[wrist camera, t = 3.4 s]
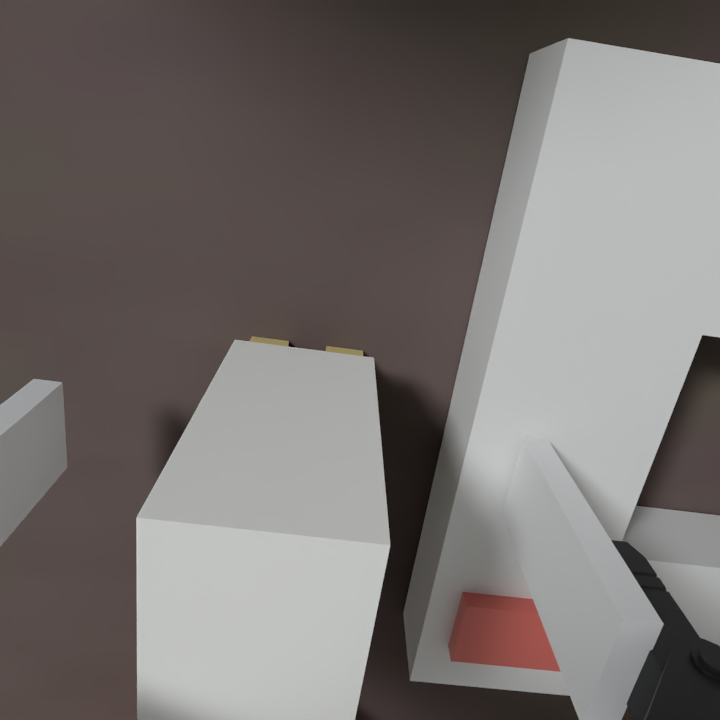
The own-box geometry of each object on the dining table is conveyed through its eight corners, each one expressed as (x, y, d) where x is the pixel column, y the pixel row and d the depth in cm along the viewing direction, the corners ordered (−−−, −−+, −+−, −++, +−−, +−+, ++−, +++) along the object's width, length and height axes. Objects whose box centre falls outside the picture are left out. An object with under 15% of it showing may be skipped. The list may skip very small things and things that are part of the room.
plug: (247, 317, 18) (136, 517, 9) (371, 334, 18) (390, 545, 9) (236, 453, 20) (137, 734, 11) (350, 466, 20) (348, 752, 11)
